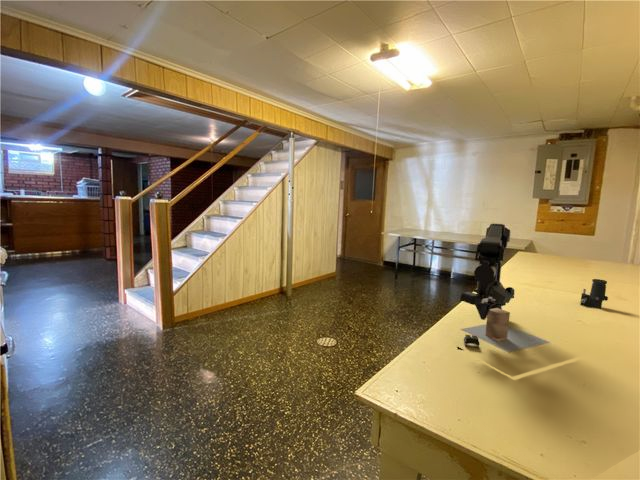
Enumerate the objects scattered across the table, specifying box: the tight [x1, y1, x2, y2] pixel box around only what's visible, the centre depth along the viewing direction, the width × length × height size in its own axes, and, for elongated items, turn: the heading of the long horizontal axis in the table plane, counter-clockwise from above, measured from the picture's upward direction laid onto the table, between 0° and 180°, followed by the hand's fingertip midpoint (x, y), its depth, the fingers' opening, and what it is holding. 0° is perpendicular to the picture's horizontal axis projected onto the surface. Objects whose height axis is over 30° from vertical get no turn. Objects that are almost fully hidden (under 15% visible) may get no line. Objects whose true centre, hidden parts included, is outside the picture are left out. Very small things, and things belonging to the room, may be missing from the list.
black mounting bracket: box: [456, 334, 480, 351], centre depth 107 cm, size 12×7×5 cm, turn 75°
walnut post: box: [485, 308, 511, 341], centre depth 114 cm, size 5×5×10 cm
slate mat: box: [460, 323, 550, 353], centre depth 117 cm, size 20×22×1 cm
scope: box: [580, 278, 609, 310], centre depth 156 cm, size 8×14×10 cm
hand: (483, 319), depth 111 cm, fingers closed
